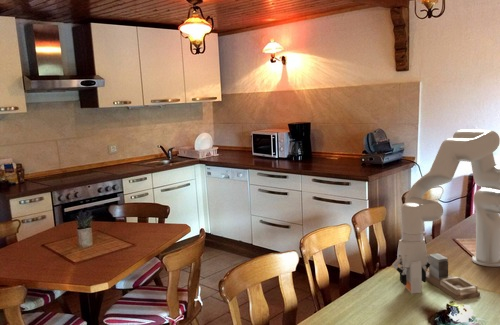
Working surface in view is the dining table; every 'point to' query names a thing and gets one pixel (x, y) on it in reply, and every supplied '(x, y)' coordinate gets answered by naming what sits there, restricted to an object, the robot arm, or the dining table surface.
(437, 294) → the dining table surface
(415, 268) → the skincare box
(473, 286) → the desk organizer
